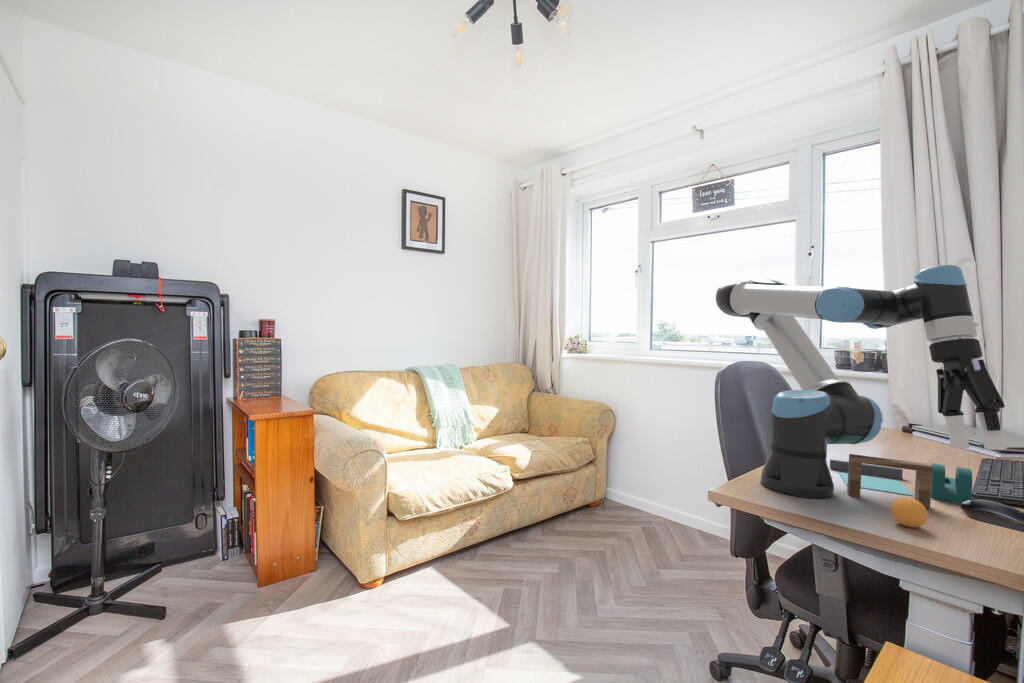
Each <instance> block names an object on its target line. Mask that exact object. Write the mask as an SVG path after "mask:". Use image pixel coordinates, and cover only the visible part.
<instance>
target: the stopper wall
mask: <svg viewBox="0 0 1024 683" xmlns="http://www.w3.org/2000/svg"><path fill="white" fill-rule="evenodd" d="M829 467H830V468H831V469H830V468H829V469H830V470H833V469H837V470H836V471H840V470H843V471H842V472H847V471H848V468H849V460H848V461H847V460H840V459H832V458H830V459H829ZM903 470H904V469H902V468H895V467H887V466H879V465H872V464H864V463H862V470H861V475H869V476H874V477H875V476H876V477H882V478H883V477H884V478H889V479H897V480H898V479H899V480H903Z"/></svg>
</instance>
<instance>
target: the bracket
mask: <svg viewBox="0 0 1024 683" xmlns="http://www.w3.org/2000/svg"><path fill="white" fill-rule="evenodd" d="M930 466H932V483H931V498H934V499H933V500H936V499H938V500H937V501H941V500H943V501H942V502H946V501H948V502H947V503H952V502H955V503H954V504H957V503H959V505H962V504H961V503H962V502H964V501H967V500H971V501H972V495H973V472H972V468H967V467H966V468H965V467H960V466H959V467H958V466H957V467H956V469H955V470H956V471H955V475H954V476H955V477H954V478H953V477H948V476H946V464H940V463H939V464H938V463H935V462H934V463H933V462H932V463H931V464H930Z"/></svg>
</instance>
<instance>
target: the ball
mask: <svg viewBox="0 0 1024 683" xmlns="http://www.w3.org/2000/svg"><path fill="white" fill-rule="evenodd" d="M890 507H891V508H890V512H891V515H892V517H893V518H894V519H895V521H896V522H898V523H899V524H900V525H903V526H905V527H908V528H919V527H921V526H923V525H924V524H925V523H926V522H928V510H927V508H925V507H924V506H923V505H922V504H921V503H920V502H919V501H917V500H915V499H914V498H912V497H900V498H898V499H895V500H894V501H893V502H892V504H891V506H890Z"/></svg>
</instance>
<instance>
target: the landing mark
mask: <svg viewBox="0 0 1024 683" xmlns="http://www.w3.org/2000/svg"><path fill="white" fill-rule="evenodd" d="M837 473H838V474H840V475H839V476H840V478H841V479H842V481H843V482H844V485H846V487H847V486H848V472H847V473H846V472H842V471H838V472H837ZM860 489H864V490H871V491H878V492H884V493H892V494H897V495H898V494H899V495H903V496H911V497H914V494H913V493H911V491H910V490H909V489H907V487H906V486H905V485H904V484H902V483H901V481H900V480H898V479H897V480H894V479H891V478H889V479H888V478H883V477H877V476H876V477H875V476H870V475H869V476H867V475H863V474H861V487H860Z"/></svg>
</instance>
